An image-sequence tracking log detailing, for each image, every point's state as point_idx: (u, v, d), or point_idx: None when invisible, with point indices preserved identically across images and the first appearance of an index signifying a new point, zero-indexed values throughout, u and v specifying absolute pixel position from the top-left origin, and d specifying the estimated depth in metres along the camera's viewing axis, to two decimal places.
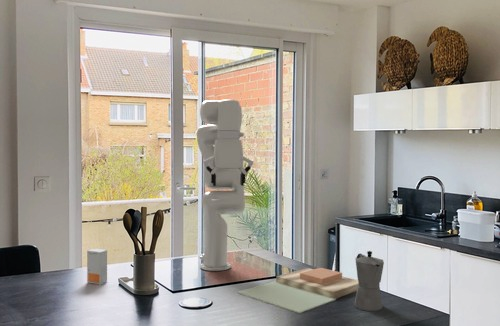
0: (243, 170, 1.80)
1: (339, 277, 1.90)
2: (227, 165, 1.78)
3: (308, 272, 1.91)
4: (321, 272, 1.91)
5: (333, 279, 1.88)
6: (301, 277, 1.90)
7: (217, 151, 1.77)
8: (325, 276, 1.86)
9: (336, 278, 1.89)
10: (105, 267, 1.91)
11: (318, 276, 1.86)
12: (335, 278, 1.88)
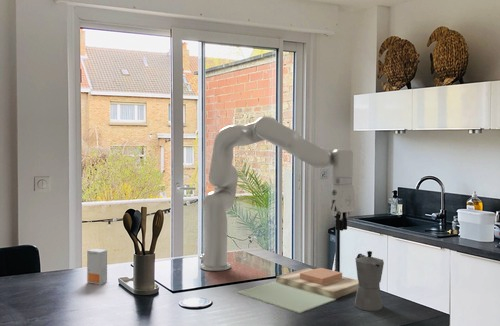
0: None
1: (339, 277, 1.90)
2: None
3: (308, 272, 1.91)
4: (321, 272, 1.91)
5: (333, 279, 1.88)
6: (301, 277, 1.90)
7: None
8: (325, 276, 1.86)
9: (336, 278, 1.89)
10: (105, 267, 1.91)
11: (318, 276, 1.86)
12: (335, 278, 1.88)
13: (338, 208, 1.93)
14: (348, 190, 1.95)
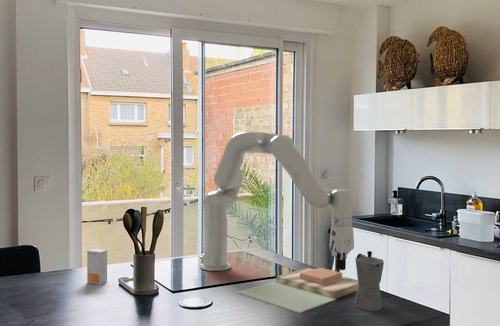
0: None
1: (339, 277, 1.90)
2: None
3: (308, 272, 1.91)
4: (321, 272, 1.91)
5: (333, 279, 1.88)
6: (301, 277, 1.90)
7: None
8: (325, 276, 1.86)
9: (336, 278, 1.89)
10: (105, 267, 1.91)
11: (318, 276, 1.86)
12: (335, 278, 1.88)
13: (337, 249, 1.94)
14: (347, 230, 1.96)
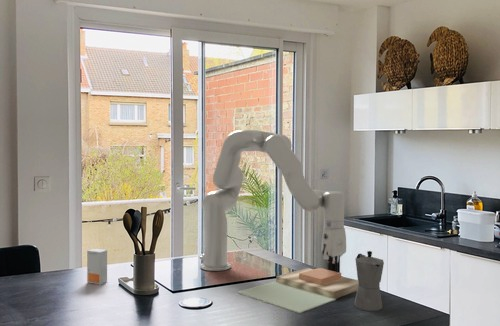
0: None
1: (338, 277, 1.90)
2: None
3: (307, 272, 1.91)
4: (320, 272, 1.91)
5: (332, 280, 1.88)
6: (300, 277, 1.89)
7: None
8: (324, 277, 1.85)
9: (335, 278, 1.89)
10: (105, 267, 1.91)
11: (317, 276, 1.86)
12: (334, 278, 1.88)
13: (329, 252, 1.90)
14: (339, 233, 1.93)
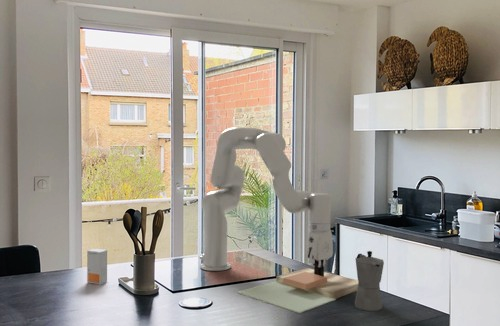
0: None
1: (324, 282, 1.84)
2: None
3: (292, 277, 1.85)
4: (305, 277, 1.85)
5: (318, 284, 1.81)
6: (285, 282, 1.83)
7: None
8: (309, 281, 1.79)
9: (321, 283, 1.83)
10: (105, 267, 1.91)
11: (302, 281, 1.80)
12: (319, 283, 1.82)
13: (315, 256, 1.84)
14: (325, 236, 1.87)
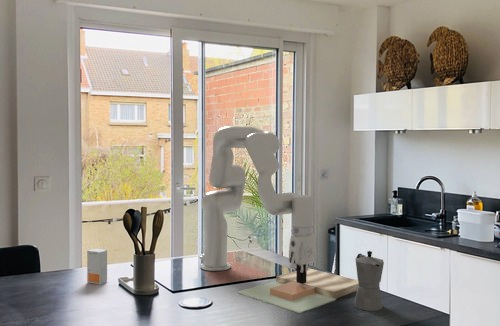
0: None
1: (311, 292, 1.79)
2: None
3: (279, 287, 1.79)
4: (292, 287, 1.80)
5: (305, 295, 1.76)
6: (271, 292, 1.78)
7: None
8: (296, 292, 1.74)
9: (308, 293, 1.77)
10: (105, 267, 1.91)
11: (288, 292, 1.74)
12: (306, 293, 1.77)
13: (297, 261, 1.77)
14: (308, 240, 1.80)
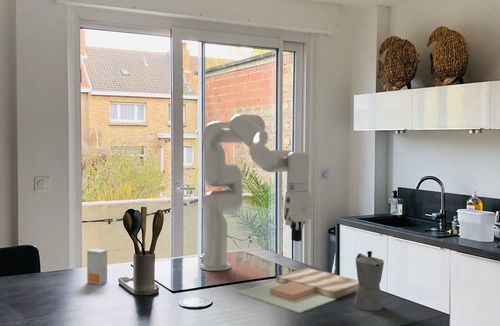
0: None
1: (311, 292, 1.79)
2: None
3: (279, 287, 1.79)
4: (292, 287, 1.80)
5: (305, 295, 1.76)
6: (271, 292, 1.78)
7: None
8: (296, 292, 1.74)
9: (308, 293, 1.77)
10: (105, 267, 1.91)
11: (288, 292, 1.74)
12: (306, 293, 1.77)
13: (292, 217, 1.75)
14: (303, 197, 1.77)
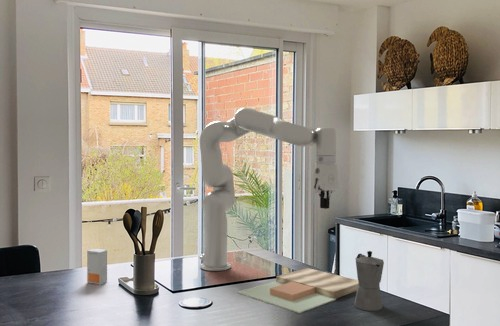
0: None
1: (311, 292, 1.79)
2: None
3: (279, 287, 1.79)
4: (292, 287, 1.80)
5: (305, 295, 1.76)
6: (271, 292, 1.78)
7: None
8: (296, 292, 1.74)
9: (308, 293, 1.77)
10: (105, 267, 1.91)
11: (288, 292, 1.74)
12: (306, 293, 1.77)
13: (321, 186, 1.93)
14: (331, 168, 1.96)
